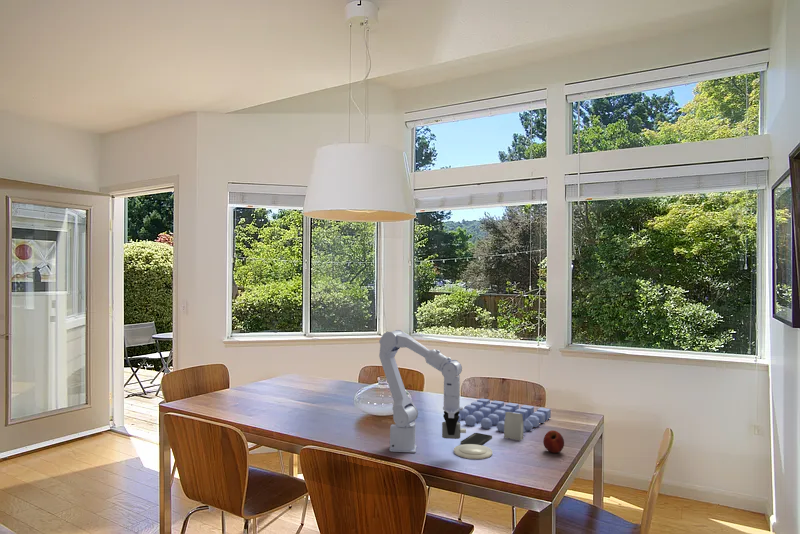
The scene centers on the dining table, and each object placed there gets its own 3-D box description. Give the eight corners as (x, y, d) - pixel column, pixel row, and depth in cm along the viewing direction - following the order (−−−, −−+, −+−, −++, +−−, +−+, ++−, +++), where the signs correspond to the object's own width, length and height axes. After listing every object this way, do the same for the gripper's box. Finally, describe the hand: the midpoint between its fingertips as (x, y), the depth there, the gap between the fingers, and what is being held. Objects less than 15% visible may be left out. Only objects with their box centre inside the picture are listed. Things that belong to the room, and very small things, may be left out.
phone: (459, 442, 198) (475, 432, 211) (459, 445, 198) (475, 435, 211) (478, 446, 194) (493, 435, 207) (478, 449, 194) (493, 438, 207)
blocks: (550, 419, 237) (550, 409, 237) (524, 438, 208) (524, 426, 208) (480, 408, 256) (481, 398, 257) (447, 423, 228) (448, 412, 228)
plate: (453, 458, 183) (453, 454, 183) (453, 445, 197) (453, 442, 197) (493, 460, 181) (493, 456, 181) (490, 447, 195) (490, 444, 195)
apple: (540, 452, 190) (540, 431, 190) (547, 447, 196) (547, 426, 196) (560, 457, 186) (560, 434, 186) (566, 451, 192) (566, 429, 192)
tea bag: (520, 440, 204) (521, 415, 204) (504, 437, 207) (504, 412, 207) (523, 438, 207) (523, 413, 207) (506, 435, 210) (507, 410, 211)
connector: (441, 438, 183) (442, 424, 183) (442, 435, 186) (442, 421, 186) (465, 439, 182) (466, 425, 182) (465, 436, 185) (465, 422, 185)
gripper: (463, 400, 177) (462, 439, 176) (462, 391, 191) (462, 427, 191) (442, 399, 177) (442, 438, 177) (443, 390, 192) (443, 426, 192)
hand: (451, 433), depth 184 cm, fingers closed on connector, 3 cm apart
